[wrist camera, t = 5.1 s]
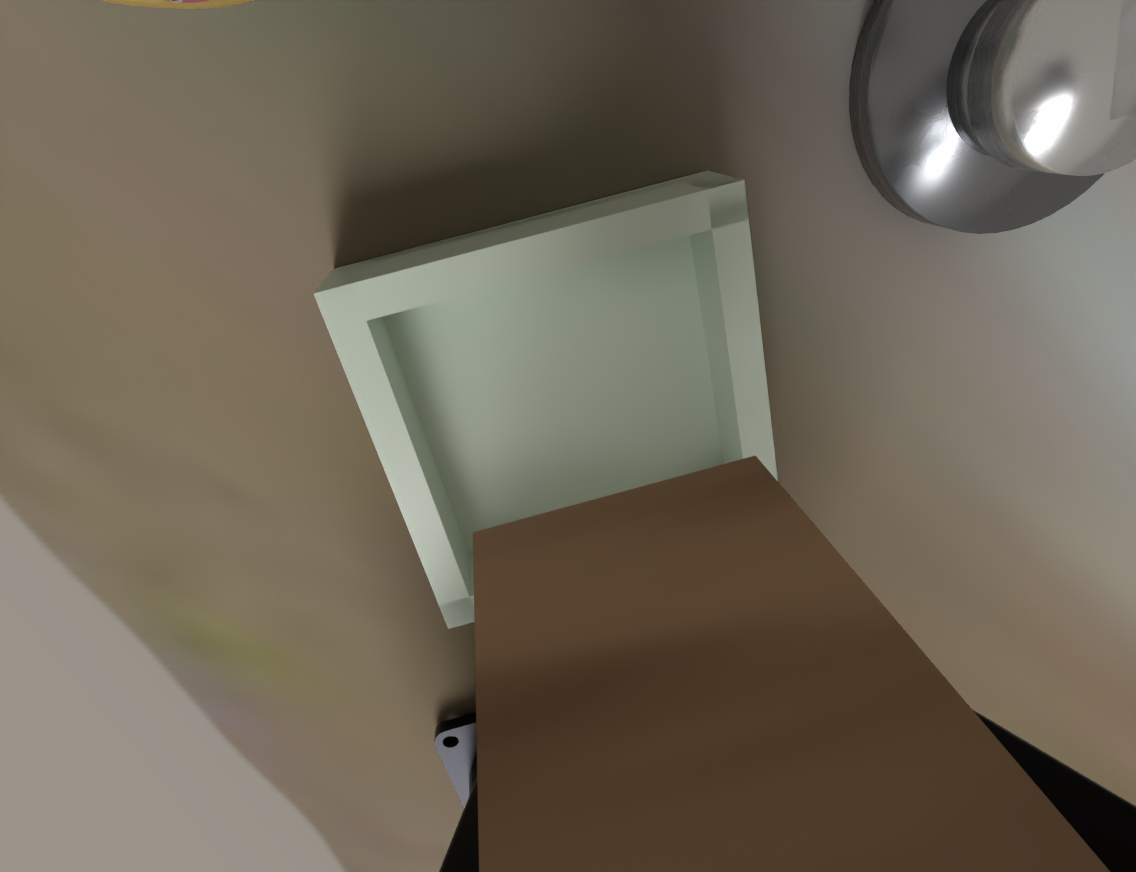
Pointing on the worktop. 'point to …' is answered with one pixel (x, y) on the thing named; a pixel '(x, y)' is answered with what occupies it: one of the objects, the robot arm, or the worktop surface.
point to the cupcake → (180, 3)
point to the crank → (1056, 85)
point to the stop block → (724, 702)
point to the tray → (555, 362)
